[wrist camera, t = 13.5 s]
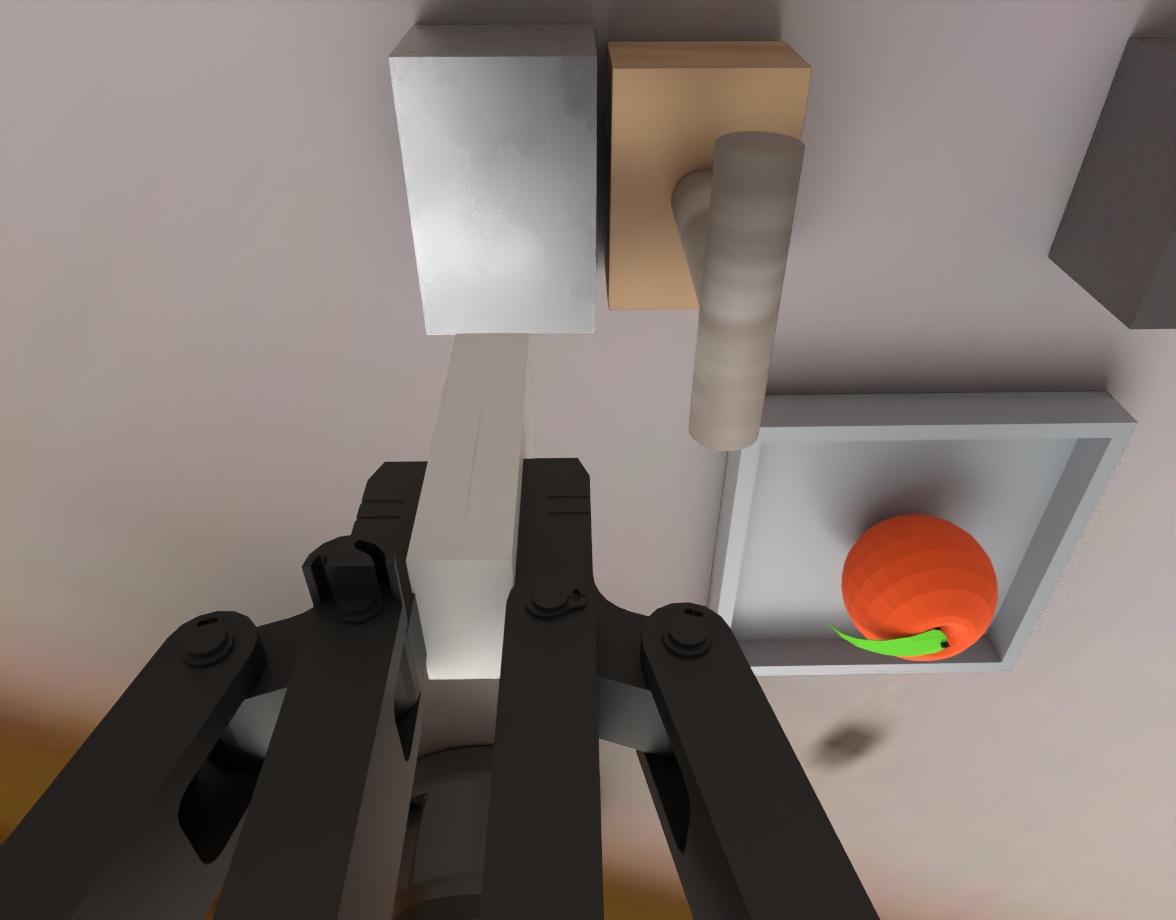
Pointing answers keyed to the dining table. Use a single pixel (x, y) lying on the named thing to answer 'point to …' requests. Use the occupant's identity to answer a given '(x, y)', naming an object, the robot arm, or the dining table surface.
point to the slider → (706, 206)
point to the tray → (903, 511)
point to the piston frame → (568, 180)
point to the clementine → (918, 588)
